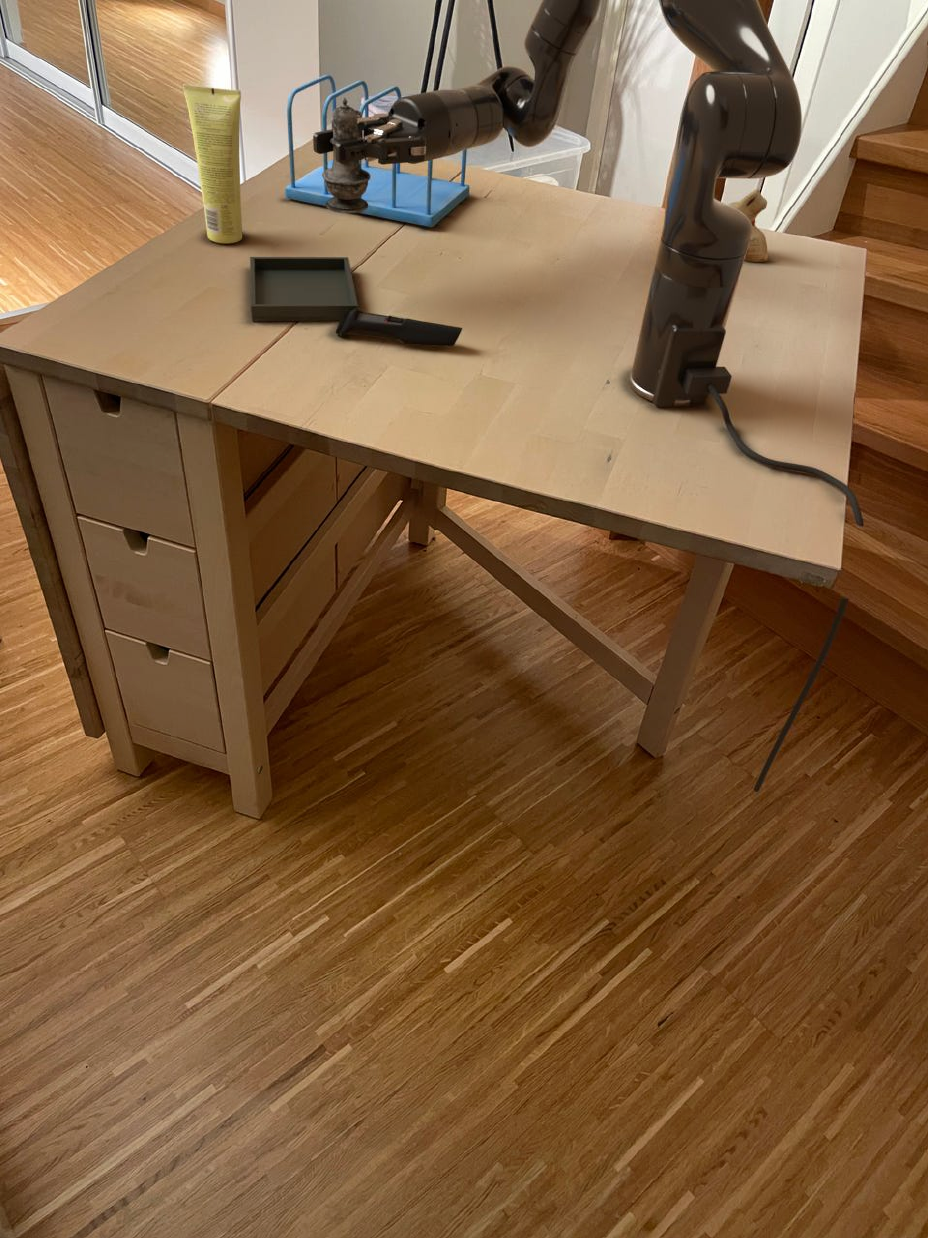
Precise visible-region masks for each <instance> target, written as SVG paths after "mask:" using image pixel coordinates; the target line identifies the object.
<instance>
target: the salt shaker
mask: <svg viewBox="0 0 928 1238" xmlns="http://www.w3.org/2000/svg"><path fill="white" fill-rule="evenodd" d="M348 101H349V100H347V98H346V97H343V99H342V101H341V105H340V106H337V107H336V109H335V110H334V112H333V111H332V120H333V138H332V139H331V140H330V142H331V143H332V144H333V151H332V156H333V157H332V159H333V164H332V167H331V168H329V169H327V170H325V171H324V172H323V173H322V177H323V178H324V179H325V185H326V187H327V190H328V191H329V192H330V193H331V194H332V195H333V196H334V197H332V198H330V199H329V200H328V201H327V202H326V206H325V207H326V209H328V210H330V211H332V212H335V213H340V214H358V212H362V211H365V210H366V209H367V208H368V203H367V202H366V201H365V200H363V199H362V198H360V197H361V196H362V195H363V194H364V193H365V192H366V189H367V186H368V181H369V180H370V177H371V175H370V174H369V173H368V172H367V171H365V170H363V169H361V168H360V164H359V160H358V161H354V162H349V163H345V164H341V163H338V162H337V161H336V151H335V146H336V144H337V143H338V142H342V141H346V140H351V139H356V138H358V122H357V113H356V111H355V110H356V109H354V108H353V107H351V106H350V105H348V103H349V102H348Z"/></svg>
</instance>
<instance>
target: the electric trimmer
mask: <svg viewBox="0 0 928 1238" xmlns="http://www.w3.org/2000/svg"><path fill="white" fill-rule="evenodd" d="M462 331H463V328H462V327H459V326H453V325H447V324H441V323H436V322H430V321H423V320H419V319H412V318H407V317H406V318H404V317H397V316H393V315H386V314H385V315H383V314H378V313H373V312H372V313H371V312H365V311H362V310H360V309H359V308H358V309H357V308H356V309H354V310H352V311H350V310H348V309H347V311H346V312H345V314H344V316H343V317H342V319H341V321H339V323H338V325H337V327H336V330H335V335H339V336H340V337H341V338H344V337H345V335H347V334H351V335H358V336H364V337H365V336H366V337H373V338H380V339H387V340H388V339H389V340H395V341H399V342H400V343H402V344H404V345H410V346H411V345H413V346H429V347H430V346H432V347H454V346H455V345H456V343H457V341H458V339H459V337H460V335H461V334H462Z"/></svg>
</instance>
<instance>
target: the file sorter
mask: <svg viewBox="0 0 928 1238" xmlns="http://www.w3.org/2000/svg"><path fill="white" fill-rule="evenodd" d="M326 80H328V81H329V82H330V85H331V94H329V95H328V96H327V97H326V98H325V101H324V104H323V108H322V115H321V117H322V119H321V124H322V127H321V129H322V130H321V131H326V130H328V127H327V126H328V124H327V123H328V122H327V119H328V109H329V105H330V103H331V102H332V104H331V107H332V113H333V112H334V110H335V109H336V108H337V98H338V97H340V96H342V95H344V94H345V93H347V92H349V91H352V90H353V89H356V88H358V87H360V86H362V88H363V92H364V101H363V102H362V103H361V105H360V107H359V110H358V111H360V112H361V118H363V117H370V114H369V113H370V111H369V110H370V109H369V108H370V106H369V105H370V104H372V103H374V102H376V101H378V100H380V99H381V98H383V97H385V96H387V95H388V94H391V93H393V92H395V93H396V97H397V100H398V99H399V98H401V97H402V93H401V89H400V87H399V86H397V85H393V86H391V87H388V88H386V89H384V90H383V91H381V92H378V93H377V94H375V95H373V96H371V97H369V88H368V85H367V82H366V81H365V80H357V81H355V82H353V83H351V84H349V85H347V86H344V87H343V88H341V89H338V90H337V91H336V83H335V80H334V77H333V76H331V75H330V74H324V75H321V76H319V77H316V78H314V79H312V80H309V81H308V82H305V83H304V84H301V85H299V86H297V87H295V88H293V90H291V91H290V94H289V96H288V99H287V107H286V117H287V118H286V119H287V137H288V156H289V175H290V184H289V185H287V186H285V198H286V199H289V200H293V201H299V202H304V203H308V204H314V205H319V206H323V207H326V202H327V201H328V200H329V199H330V198H332V197H334V196H333V195H332V194H331V193H330V192H329V191H328V190H327V187H326V185H325V179H324V178H323V177H322V173H323V172H324V171H325V170H327V169H329V168H331V167H332V164H333V158H332V159H330V160H329V161H328V153H323V154H322V156H323V157H322V159H323V160H322V163H323V164H322V165H321V166H318V167H317V168H315V169H314V170H311V172H308V173H307V174H305V175H304V176H302V177H300V178H298V179H297V180H296V172H295V153H294V136H293V133H294V132H293V118H292V117H293V116H292V107H293V102H294V98H295V96H296V95H297V94H298V93H301V92H302V91H304V90H306V89H308V88H310V87H313V86H315V85H317V84H319V83H322V82H324V81H326ZM467 152H468V149H465V150H462V155H461V156H462V157H461V158H462V159H461V172H460V182H456V181H451V180H446V179H441V178H435V177H433V170H434V169H433V165H434V164H433V163H434V159H433V160H429V161H427V176H425V175H420V174H416V173H410V172H404V171H401V163H396V164H391V165H392V166H391V169H388V168H383V167H378V166H372V165H370V164H369V162H370V161H366V160H364V164H362V163H363V159H362V160H359V164H360V168H361V169H363V170H365V171H367V172H368V173H369V174H370V175H371V177H370V180H369V181H368V186H367V189H366V192H365V193H364V194H363V195H362V196H361V197H360V198H362V199H363V200H365V201H366V202H367V203H368V208H367V209H366V210H365V211H362V212H358V213H359V214H364V215H369V216H374V217H378V218H383V219H388V220H394V221H398V222H404V223H409V224H413V225H418V226H423V227H429V228H434V227H435V225H436V224H438V223H439V222H440V221H441V220H442V219H443V218H444V217H446V216H447V215H448V214H449V213H451V211H452V210H453V209H455V208H456V207H457V206H458V205H459V204H460V203H461V202H463V201H464V200H465V199H466V198H467V197H468V196H469V195H470V184H466V171H467V170H466V168H467V167H466V166H467V154H468V153H467ZM358 213H357V214H358Z"/></svg>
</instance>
